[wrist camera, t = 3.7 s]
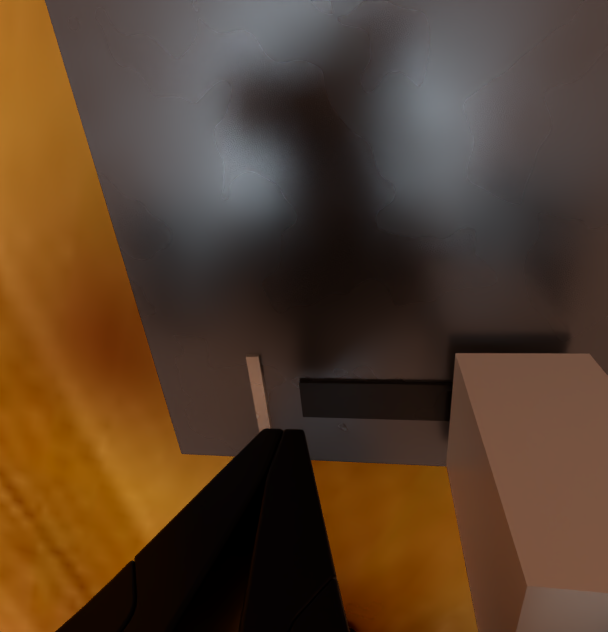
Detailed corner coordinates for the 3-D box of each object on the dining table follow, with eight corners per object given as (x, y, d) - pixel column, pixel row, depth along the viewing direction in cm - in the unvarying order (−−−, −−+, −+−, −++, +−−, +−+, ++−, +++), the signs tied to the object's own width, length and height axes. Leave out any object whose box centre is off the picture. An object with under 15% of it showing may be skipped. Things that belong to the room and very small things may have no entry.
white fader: (560, 469, 9) (706, 768, 5) (446, 463, 10) (498, 737, 6) (589, 353, 8) (820, 634, 4) (455, 352, 8) (534, 607, 4)
